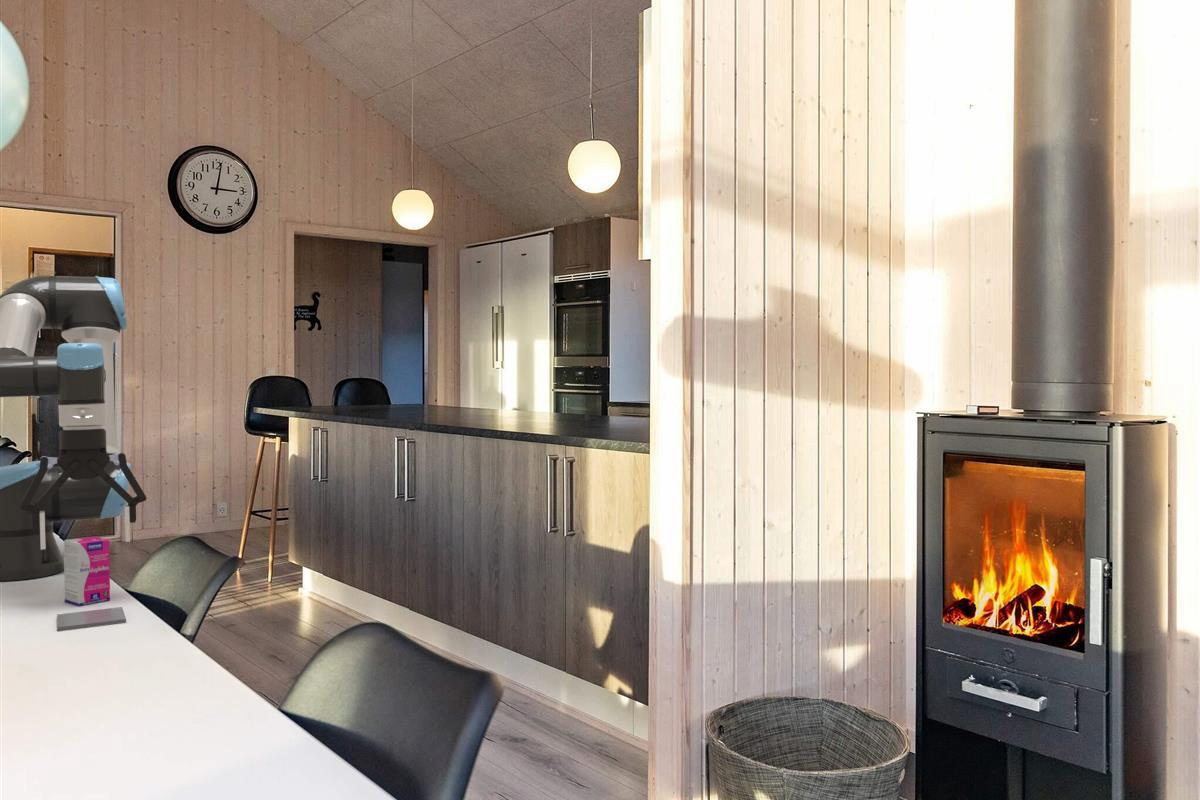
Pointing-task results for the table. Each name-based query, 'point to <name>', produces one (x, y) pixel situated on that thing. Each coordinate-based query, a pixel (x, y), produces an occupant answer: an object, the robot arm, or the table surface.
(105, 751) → the table surface
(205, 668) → the table surface
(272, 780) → the table surface
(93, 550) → the supplement box
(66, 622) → the slate coaster
